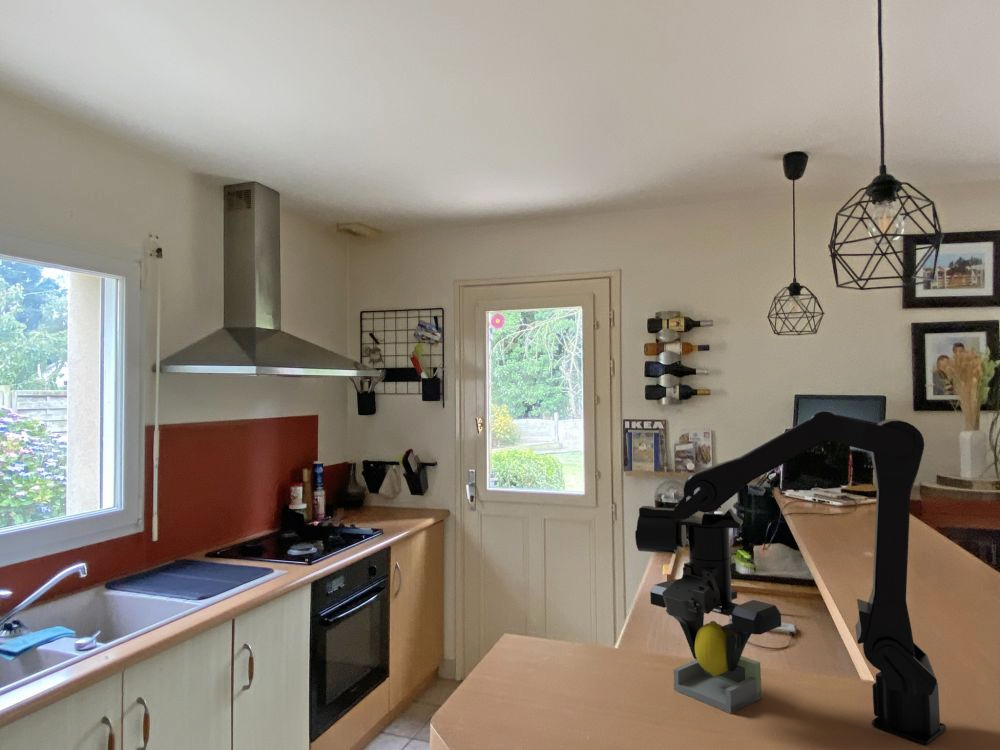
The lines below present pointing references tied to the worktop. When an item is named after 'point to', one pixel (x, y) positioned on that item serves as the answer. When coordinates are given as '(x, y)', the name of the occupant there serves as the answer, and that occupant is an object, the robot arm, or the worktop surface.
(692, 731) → the worktop surface
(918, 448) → the robot arm
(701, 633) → the lemon
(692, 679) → the miniature couch
